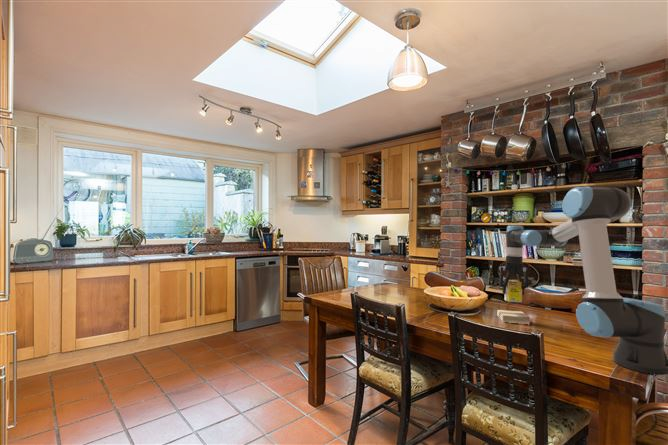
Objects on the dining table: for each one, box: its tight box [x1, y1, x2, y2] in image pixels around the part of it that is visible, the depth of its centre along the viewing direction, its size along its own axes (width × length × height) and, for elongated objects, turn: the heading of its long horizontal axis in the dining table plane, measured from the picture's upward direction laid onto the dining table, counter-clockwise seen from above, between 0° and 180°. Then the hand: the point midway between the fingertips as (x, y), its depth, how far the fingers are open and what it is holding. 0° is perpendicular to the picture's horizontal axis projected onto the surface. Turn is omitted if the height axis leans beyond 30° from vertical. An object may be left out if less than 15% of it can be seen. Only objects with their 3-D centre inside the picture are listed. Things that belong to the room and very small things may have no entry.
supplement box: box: [506, 279, 522, 305], centre depth 175 cm, size 6×6×11 cm
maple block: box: [496, 309, 531, 326], centre depth 175 cm, size 12×12×4 cm
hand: (513, 300), depth 175 cm, fingers closed on supplement box, 6 cm apart
